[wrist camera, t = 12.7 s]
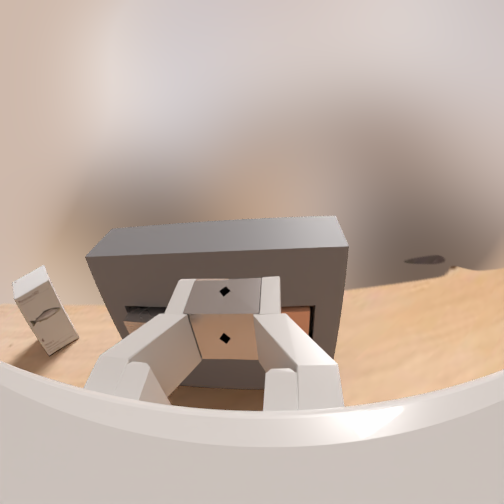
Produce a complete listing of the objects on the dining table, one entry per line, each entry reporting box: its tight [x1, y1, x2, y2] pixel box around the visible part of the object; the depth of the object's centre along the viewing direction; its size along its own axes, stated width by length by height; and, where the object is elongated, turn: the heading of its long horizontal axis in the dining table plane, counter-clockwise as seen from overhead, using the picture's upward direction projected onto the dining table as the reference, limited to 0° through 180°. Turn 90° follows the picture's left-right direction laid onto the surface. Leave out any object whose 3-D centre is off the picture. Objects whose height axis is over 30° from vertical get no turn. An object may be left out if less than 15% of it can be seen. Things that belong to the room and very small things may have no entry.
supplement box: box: [12, 265, 79, 356], centre depth 39 cm, size 7×7×13 cm
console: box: [85, 216, 349, 389], centre depth 31 cm, size 6×24×20 cm, turn 86°
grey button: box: [123, 306, 167, 334], centre depth 29 cm, size 3×5×5 cm, turn 86°
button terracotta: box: [281, 306, 310, 336], centre depth 28 cm, size 3×5×5 cm, turn 86°
